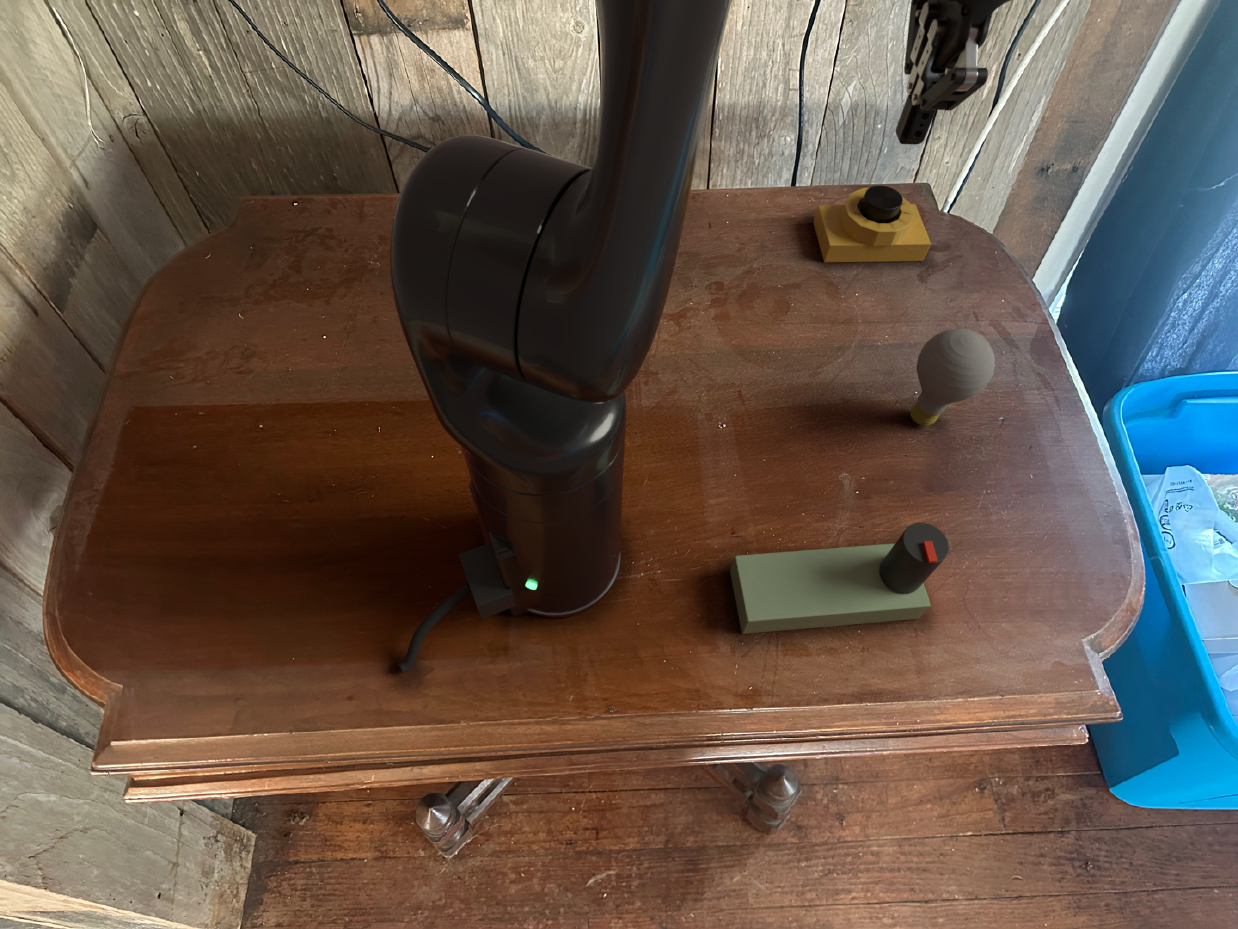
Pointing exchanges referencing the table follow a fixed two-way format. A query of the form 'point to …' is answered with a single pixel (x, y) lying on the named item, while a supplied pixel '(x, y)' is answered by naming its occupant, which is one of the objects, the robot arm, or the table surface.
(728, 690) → the table surface
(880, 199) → the button
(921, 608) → the dimmer panel
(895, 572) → the dimmer knob
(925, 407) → the light bulb
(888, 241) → the switch box
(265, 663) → the table surface
